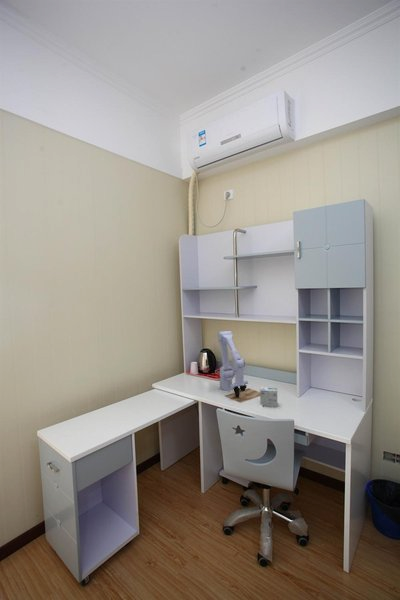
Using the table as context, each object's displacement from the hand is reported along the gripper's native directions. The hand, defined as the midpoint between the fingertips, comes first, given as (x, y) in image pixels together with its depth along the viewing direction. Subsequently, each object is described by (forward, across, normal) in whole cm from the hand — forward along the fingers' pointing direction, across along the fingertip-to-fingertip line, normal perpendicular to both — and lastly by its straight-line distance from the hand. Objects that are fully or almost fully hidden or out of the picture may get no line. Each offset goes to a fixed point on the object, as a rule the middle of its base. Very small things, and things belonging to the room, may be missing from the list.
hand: (239, 396), depth 209 cm
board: (+2, +5, 0) cm, 5 cm away
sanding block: (0, 0, 0) cm, 0 cm away
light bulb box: (+2, +7, -20) cm, 21 cm away
